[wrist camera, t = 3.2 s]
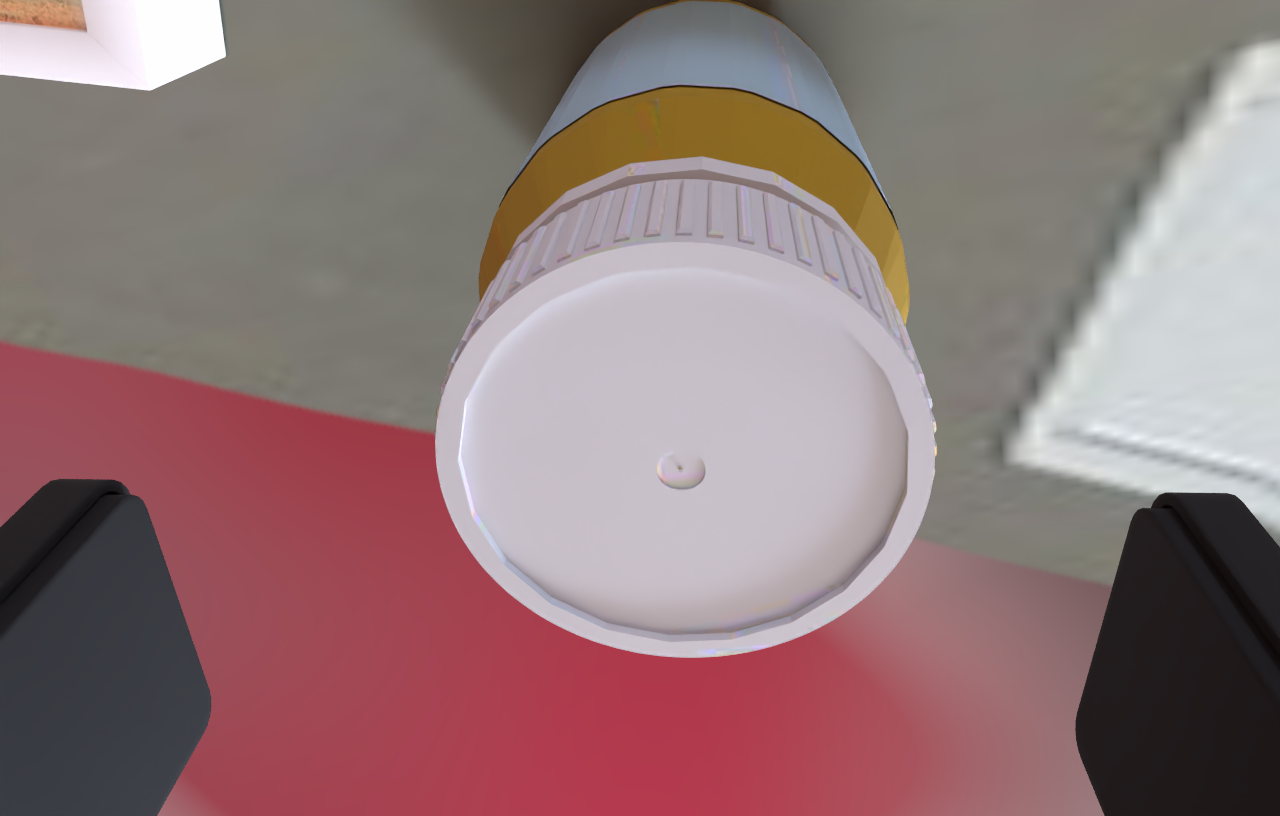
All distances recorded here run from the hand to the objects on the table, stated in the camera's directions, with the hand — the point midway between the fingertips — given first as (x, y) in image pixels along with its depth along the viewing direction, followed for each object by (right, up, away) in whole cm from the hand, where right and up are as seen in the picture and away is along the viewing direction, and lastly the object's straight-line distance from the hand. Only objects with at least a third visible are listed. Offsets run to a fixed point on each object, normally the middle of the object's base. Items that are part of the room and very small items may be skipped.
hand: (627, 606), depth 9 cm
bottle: (+2, +9, +15) cm, 18 cm away
